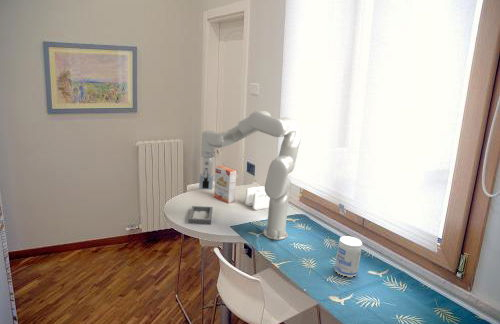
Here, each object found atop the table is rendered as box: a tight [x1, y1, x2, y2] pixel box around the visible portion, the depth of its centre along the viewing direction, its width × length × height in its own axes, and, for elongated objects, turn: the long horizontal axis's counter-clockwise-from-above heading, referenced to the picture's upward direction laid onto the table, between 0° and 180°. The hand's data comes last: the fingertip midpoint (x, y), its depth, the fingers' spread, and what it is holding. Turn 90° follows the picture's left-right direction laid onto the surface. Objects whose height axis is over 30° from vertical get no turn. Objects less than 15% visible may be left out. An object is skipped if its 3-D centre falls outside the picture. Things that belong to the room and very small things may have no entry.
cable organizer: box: [244, 185, 270, 211], centre depth 227 cm, size 15×11×12 cm
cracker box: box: [213, 165, 238, 204], centre depth 234 cm, size 14×6×21 cm, turn 45°
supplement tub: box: [334, 235, 363, 278], centre depth 156 cm, size 10×10×15 cm
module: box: [198, 173, 214, 191], centre depth 201 cm, size 5×7×7 cm
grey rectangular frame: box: [187, 205, 213, 225], centre depth 205 cm, size 20×12×2 cm, turn 3°
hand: (205, 186), depth 202 cm, fingers closed on module, 5 cm apart
